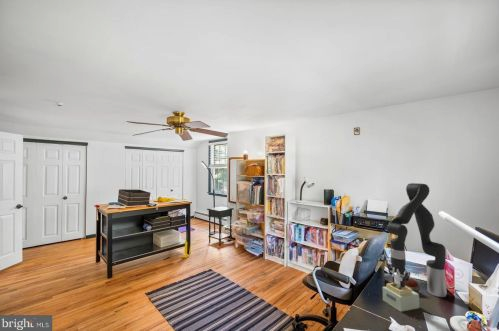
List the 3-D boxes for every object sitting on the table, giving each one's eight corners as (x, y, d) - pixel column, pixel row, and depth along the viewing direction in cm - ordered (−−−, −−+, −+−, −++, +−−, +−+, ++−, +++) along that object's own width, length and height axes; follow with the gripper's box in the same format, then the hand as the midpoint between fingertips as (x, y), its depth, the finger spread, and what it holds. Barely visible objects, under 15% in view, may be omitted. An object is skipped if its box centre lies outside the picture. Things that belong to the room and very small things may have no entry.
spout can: (398, 285, 134) (397, 268, 134) (405, 289, 129) (404, 271, 130) (392, 286, 133) (392, 269, 133) (399, 290, 128) (398, 272, 129)
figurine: (380, 276, 150) (401, 270, 156) (380, 288, 150) (401, 282, 156) (400, 287, 136) (422, 281, 142) (401, 301, 136) (423, 294, 142)
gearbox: (396, 294, 141) (395, 278, 142) (419, 307, 127) (418, 289, 127) (378, 297, 138) (378, 280, 138) (400, 311, 123) (399, 292, 124)
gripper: (414, 260, 126) (415, 290, 125) (392, 252, 140) (393, 279, 139) (404, 261, 124) (405, 292, 123) (382, 253, 138) (383, 280, 137)
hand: (398, 285), depth 131 cm, fingers closed on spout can, 4 cm apart
